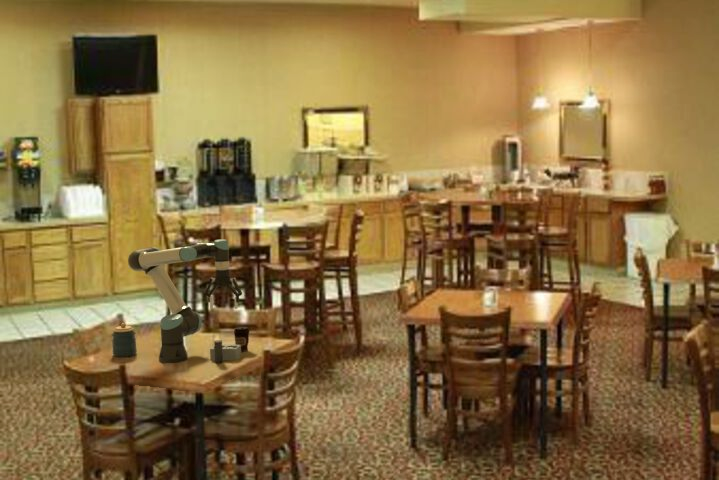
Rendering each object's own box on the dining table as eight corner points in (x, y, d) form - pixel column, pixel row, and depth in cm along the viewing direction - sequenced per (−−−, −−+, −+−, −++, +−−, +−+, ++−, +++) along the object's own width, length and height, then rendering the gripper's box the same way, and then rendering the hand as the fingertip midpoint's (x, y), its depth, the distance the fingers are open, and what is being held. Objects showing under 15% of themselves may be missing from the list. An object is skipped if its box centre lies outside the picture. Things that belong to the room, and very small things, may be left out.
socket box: (210, 359, 533) (209, 348, 533) (216, 355, 543) (215, 343, 542) (236, 360, 531) (235, 348, 530) (241, 355, 541) (240, 344, 540)
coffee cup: (247, 353, 547) (246, 329, 546) (232, 352, 549) (231, 329, 547) (251, 349, 556) (251, 326, 554) (237, 349, 557) (236, 326, 556)
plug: (214, 363, 525) (213, 340, 523) (216, 361, 529) (215, 339, 527) (221, 363, 524) (220, 340, 523) (223, 361, 528) (222, 339, 527)
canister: (107, 355, 550) (106, 323, 548) (128, 351, 560) (126, 319, 558) (121, 358, 541) (119, 326, 539) (141, 354, 551) (140, 322, 549)
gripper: (197, 270, 530) (199, 309, 532) (243, 270, 526) (244, 310, 528) (201, 267, 537) (203, 307, 540) (247, 267, 533) (248, 307, 536)
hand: (223, 308), depth 534 cm, fingers open, 13 cm apart
